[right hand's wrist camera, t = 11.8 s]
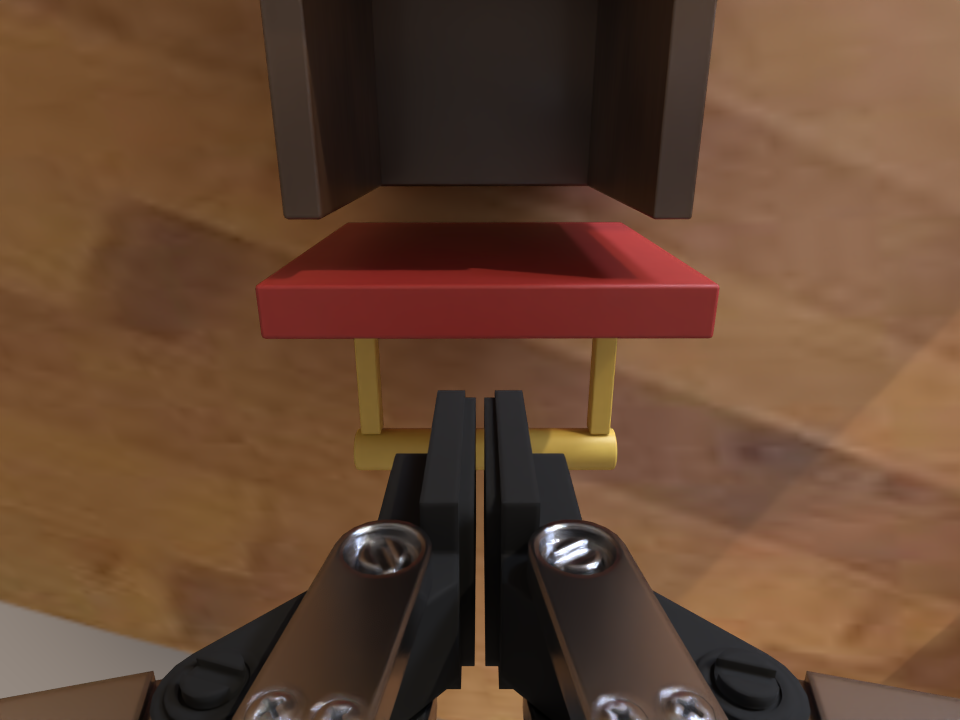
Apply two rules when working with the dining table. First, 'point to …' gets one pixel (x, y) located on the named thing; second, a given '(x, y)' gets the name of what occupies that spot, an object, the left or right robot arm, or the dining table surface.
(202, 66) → the dining table surface
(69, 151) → the dining table surface
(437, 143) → the drawer
